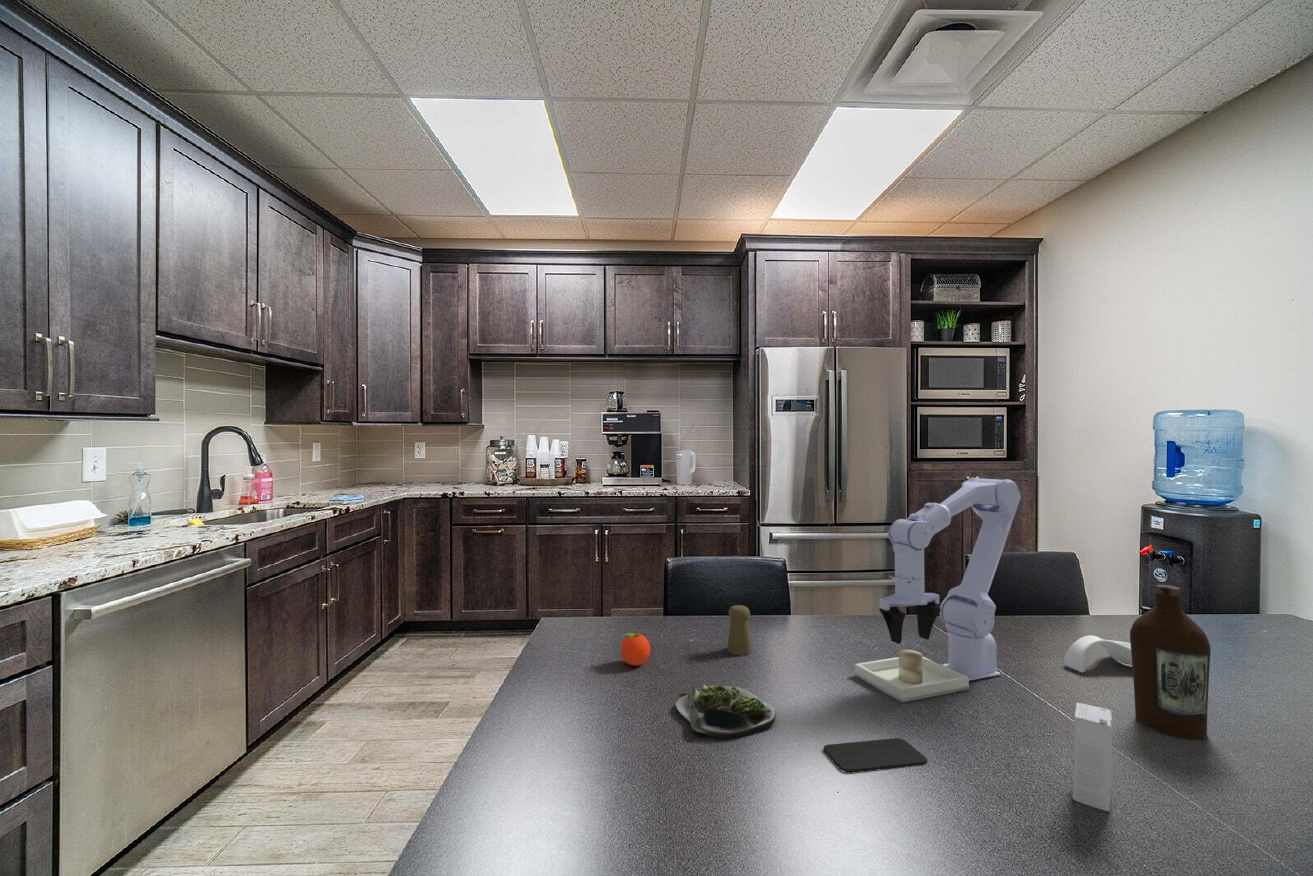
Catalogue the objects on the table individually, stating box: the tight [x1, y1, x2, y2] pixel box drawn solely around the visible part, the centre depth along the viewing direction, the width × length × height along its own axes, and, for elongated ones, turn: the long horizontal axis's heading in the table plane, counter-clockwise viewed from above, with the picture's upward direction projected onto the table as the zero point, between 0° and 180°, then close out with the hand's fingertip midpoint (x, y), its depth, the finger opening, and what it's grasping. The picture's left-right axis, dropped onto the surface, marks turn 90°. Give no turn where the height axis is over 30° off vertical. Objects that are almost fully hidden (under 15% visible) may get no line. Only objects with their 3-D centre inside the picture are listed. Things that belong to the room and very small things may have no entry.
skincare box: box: [1071, 702, 1113, 812], centre depth 78 cm, size 6×4×12 cm
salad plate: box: [675, 684, 777, 740], centre depth 104 cm, size 19×18×5 cm
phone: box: [823, 737, 928, 774], centre depth 89 cm, size 7×1×15 cm
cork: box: [726, 604, 753, 656], centre depth 134 cm, size 6×6×11 cm
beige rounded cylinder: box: [898, 649, 923, 684], centre depth 117 cm, size 5×5×6 cm
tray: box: [854, 655, 970, 703], centre depth 117 cm, size 18×14×2 cm
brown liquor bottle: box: [1129, 584, 1211, 740], centre depth 99 cm, size 11×11×25 cm
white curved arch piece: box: [1063, 634, 1132, 673], centre depth 125 cm, size 24×12×7 cm, turn 103°
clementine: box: [617, 632, 651, 667], centre depth 126 cm, size 8×7×7 cm
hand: (910, 640), depth 117 cm, fingers open, 7 cm apart
